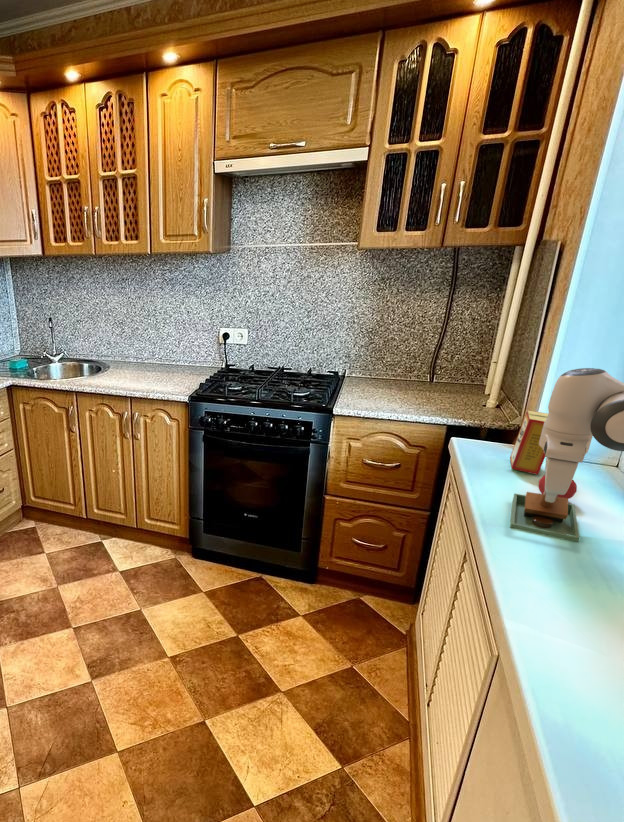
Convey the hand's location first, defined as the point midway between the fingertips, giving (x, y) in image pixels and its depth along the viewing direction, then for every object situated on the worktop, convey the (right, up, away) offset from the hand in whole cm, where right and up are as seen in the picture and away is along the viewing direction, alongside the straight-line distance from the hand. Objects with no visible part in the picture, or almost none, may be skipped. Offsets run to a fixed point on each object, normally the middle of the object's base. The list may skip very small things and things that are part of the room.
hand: (549, 496), depth 121 cm
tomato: (+13, -2, +16) cm, 20 cm away
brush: (+2, -4, +5) cm, 7 cm away
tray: (0, -7, +3) cm, 7 cm away
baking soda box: (+19, +6, +35) cm, 40 cm away
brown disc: (0, -7, +2) cm, 7 cm away
